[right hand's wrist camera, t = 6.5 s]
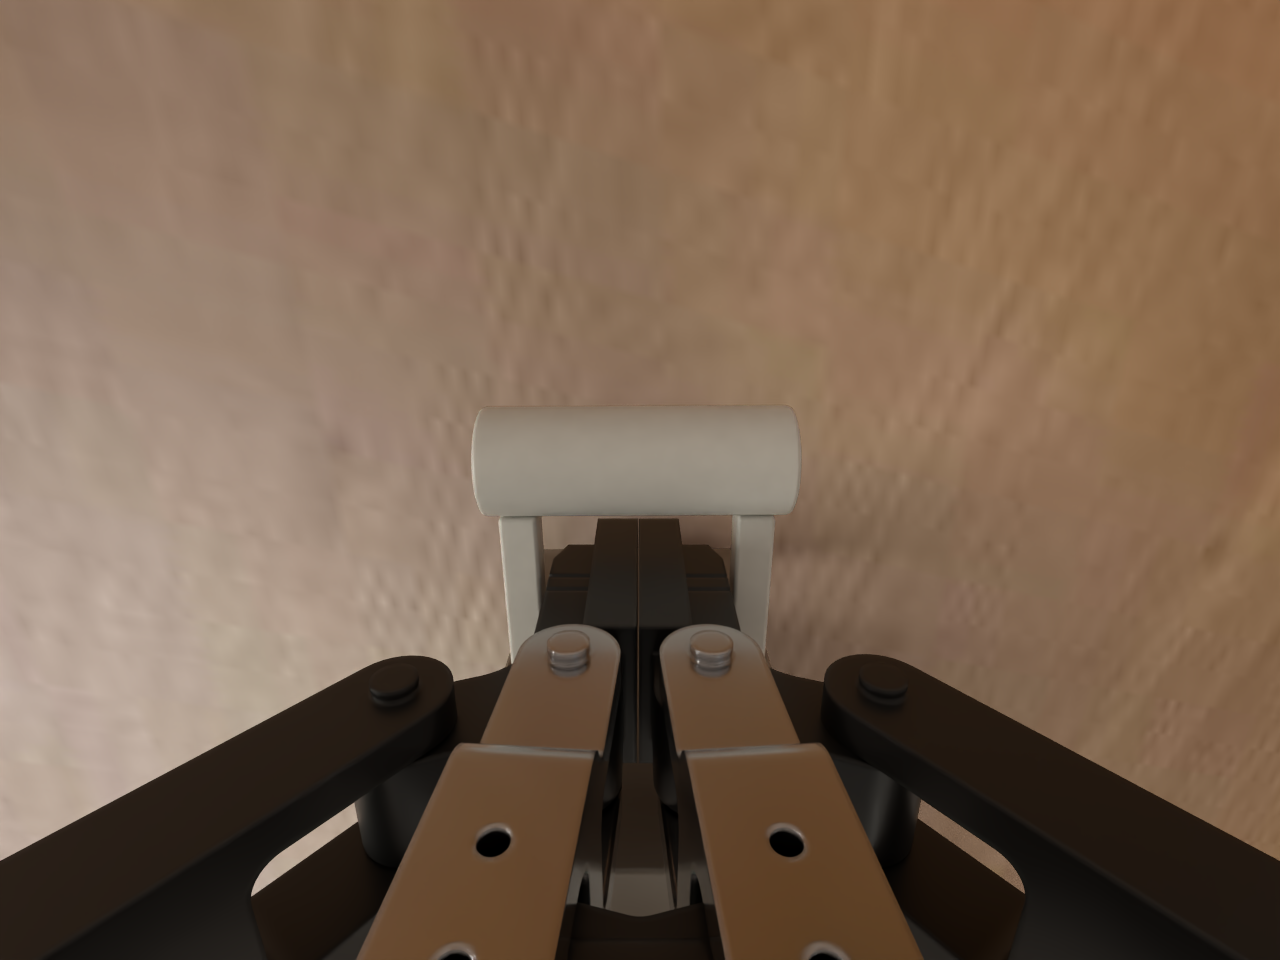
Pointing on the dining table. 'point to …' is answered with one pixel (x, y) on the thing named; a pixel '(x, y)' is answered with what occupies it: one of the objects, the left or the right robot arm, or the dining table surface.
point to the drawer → (633, 486)
